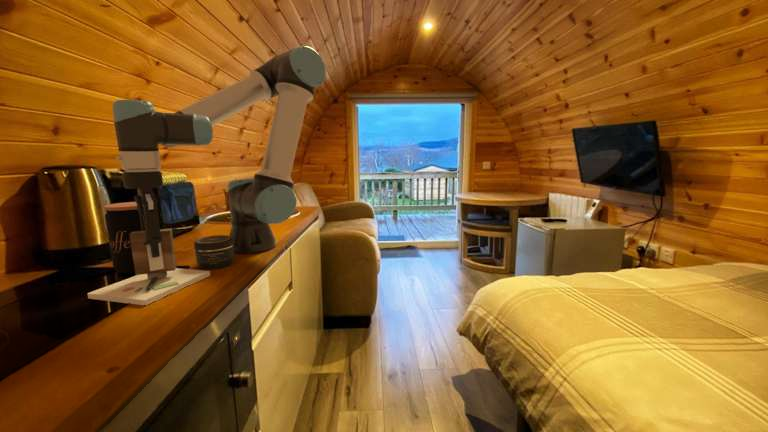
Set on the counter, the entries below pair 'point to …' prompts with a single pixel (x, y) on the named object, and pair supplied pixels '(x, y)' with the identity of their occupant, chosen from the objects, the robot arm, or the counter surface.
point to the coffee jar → (122, 233)
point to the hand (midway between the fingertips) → (155, 267)
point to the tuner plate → (136, 286)
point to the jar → (214, 251)
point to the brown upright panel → (142, 256)
